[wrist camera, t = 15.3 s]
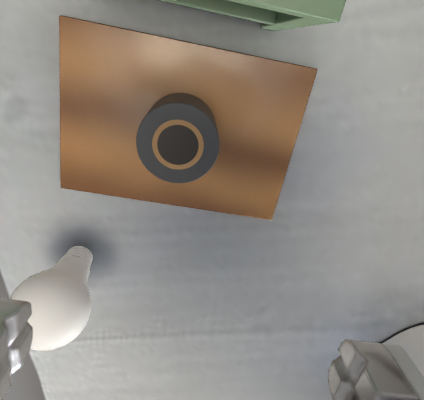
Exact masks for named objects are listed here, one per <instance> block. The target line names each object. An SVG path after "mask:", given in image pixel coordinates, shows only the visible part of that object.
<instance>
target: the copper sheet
mask: <svg viewBox="0 0 424 400" xmlns="http://www.w3.org/2000/svg"><path fill="white" fill-rule="evenodd" d="M59 25H60V163H61V188H65V189H72V190H78V191H85V192H91V193H98V194H104V195H111V196H117V197H124V198H130V199H137V200H143V201H150V202H156V203H163V204H170V205H176V206H183V207H189V208H196V209H202V210H209V211H215V212H222V213H228V214H235V215H241V216H248V217H254V218H261V219H267V220H272V217H273V214H274V211H275V208H276V204H277V201H278V198H279V194H280V191H281V188H282V185H283V181H284V178H285V175H286V171H287V168H288V165H289V161H290V158H291V155H292V152H293V148H294V145H295V142H296V138H297V135H298V132H299V129H300V125H301V122H302V119H303V115H304V112H305V109H306V106H307V102H308V99H309V96H310V92H311V89H312V86H313V83H314V79H315V76H316V73H317V69H314V68H310V67H305V66H300V65H295V64H290V63H286V62H281V61H276V60H271V59H267V58H262V57H257V56H252V55H247V54H243V53H238V52H233V51H228V50H223V49H219V48H214V47H209V46H204V45H199V44H195V43H190V42H185V41H180V40H175V39H171V38H166V37H161V36H156V35H151V34H147V33H142V32H137V31H132V30H128V29H123V28H118V27H113V26H108V25H104V24H99V23H94V22H89V21H84V20H80V19H75V18H70V17H65V16H59ZM173 93H187V94H191V95H194V96H196V97H198V98H199V99H201V100H202V101H204V102H205V103H206V104H207V105H208V107H209V108H210V109H211V111H212V113H213V115H214V117H215V120H216V125H217V130H218V135H219V153H218V157H217V159H216V161H215V163H214V165H213V167H212V168H211V169H210V170H209V171H208V172H207V173H206V174H205V175H204V176H202V177H201V178H199V179H197V180H195V181H192V182H188V183H171V182H167V181H164V180H161V179H159V178H157V177H156V176H154V175H153V174H152V173H151V172H149V171H148V170H147V169H146V167H145V166H144V165H143V163H142V161H141V160H140V158H139V155H138V152H137V147H136V136H137V131H138V128H139V126H140V124H141V122H142V120H143V119H144V117H145V116H146V115H147V113H148V112H149V110H150V109H151V108H152V106H153V105H154V104H155V103H156V102H157V101H158V100H159V99H161V98H163V97H164V96H167V95H169V94H173Z"/></svg>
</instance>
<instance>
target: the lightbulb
mask: <svg viewBox="0 0 424 400" xmlns="http://www.w3.org/2000/svg"><path fill="white" fill-rule="evenodd" d="M92 260H93V255H92V253H91V252H90V250H89V249H87V248H86V247H83V246H74V247H72V248H70V249H69V250H68V251H67V253H66V254H65V255H64V257H62V258H61V259H59V260H58V261H57V263H56V264H55V265H54V266H53V267H52V268H50V269H48V270H45V271H42V272H40V273H37V274H35V275H33V276H30V277H29V278H27V279H26V280H25V281H23V282H22V283H21V284H20V285H19V286H18V287H17V288H16V289H15V291H14V292H13V293H12V295H11V297H10V299H14V300H21V301H28V302H30V303H31V308H32V315H31V316H30V318H29V319H28V321H27V322H28V323H29V324H30V325H31V326H32V327H33V337H32V344H31V347H30V349H33V350H39V351H49V350H53V349H57V348H60V347H62V346H64V345H66V344H68V343H69V342H71V341H73V340H74V339H75V338H76V337H77V336H78V335H79V334H80V333H81V332H82V330H83V329H84V327H85V326H86V324H87V322H88V320H89V317H90V313H91V297H90V293H89V289H88V287H87V280H88V277H89V273H90V269H89V268H90V266H91V263H92Z"/></svg>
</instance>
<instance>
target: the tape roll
mask: <svg viewBox="0 0 424 400" xmlns="http://www.w3.org/2000/svg"><path fill="white" fill-rule="evenodd" d="M136 147H137V152H138V155H139V158H140V160H141V161H142V163H143V165H144V166H145V167H146V169H147V170H148V171H149V172H151V173H152V174H153V175H154V176H156V177H157V178H159V179H161V180H164V181H167V182H171V183H188V182H192V181H195V180H197V179H199V178H201V177H202V176H204V175H205V174H206V173H207V172H208V171H209V170H210V169H211V168H212V167H213V165H214V163H215V161H216V159H217V157H218V153H219V135H218V130H217V125H216V120H215V117H214V115H213V113H212V111H211V109H210V108H209V107H208V105H207V104H206V103H205V102H204V101H202V100H201V99H199V98H198V97H196V96H194V95H191V94H187V93H173V94H169V95H167V96H164V97H163V98H161V99H159V100H158V101H157V102H156V103H155V104H154V105H153V106H152V108H151V109H150V110H149V112H148V113H147V115H146V116H145V117H144V119H143V120H142V122H141V124H140V126H139V128H138V131H137V136H136Z"/></svg>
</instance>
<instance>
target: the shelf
mask: <svg viewBox="0 0 424 400" xmlns="http://www.w3.org/2000/svg"><path fill="white" fill-rule="evenodd" d="M160 1H164V2H169V3H173V4H178V5H182V6H187V7H191V8H196V9H201V10H205V11H210V12H214V13H219V14H223V15H228V16H232V17H237V18H241V19H246V20H250V21H255V22H260V23H261V28H263V29H268V30H272V31H277V30H284V29H291V28H298V27H305V26H312V25H319V24H326V23H335V22H339V21H340V18H341V14H342V11H343V8H344V5H345V2H346V0H160Z"/></svg>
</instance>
